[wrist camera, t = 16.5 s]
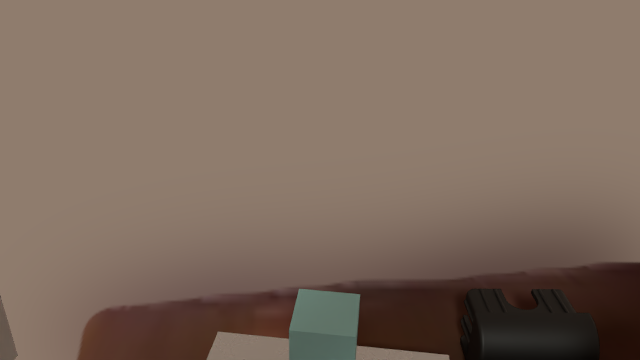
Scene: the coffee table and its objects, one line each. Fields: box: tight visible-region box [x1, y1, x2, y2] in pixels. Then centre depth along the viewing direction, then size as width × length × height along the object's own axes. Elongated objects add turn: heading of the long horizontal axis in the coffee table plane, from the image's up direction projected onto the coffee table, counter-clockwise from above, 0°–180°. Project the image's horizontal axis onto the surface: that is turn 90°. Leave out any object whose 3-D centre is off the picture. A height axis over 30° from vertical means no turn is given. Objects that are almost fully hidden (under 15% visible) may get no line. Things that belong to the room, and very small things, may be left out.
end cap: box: [460, 289, 600, 360], centre depth 50 cm, size 10×7×7 cm
